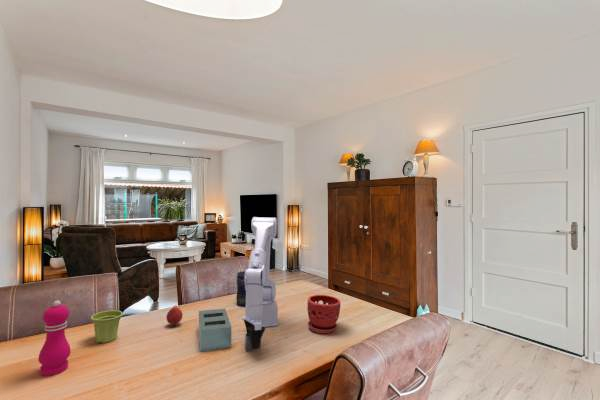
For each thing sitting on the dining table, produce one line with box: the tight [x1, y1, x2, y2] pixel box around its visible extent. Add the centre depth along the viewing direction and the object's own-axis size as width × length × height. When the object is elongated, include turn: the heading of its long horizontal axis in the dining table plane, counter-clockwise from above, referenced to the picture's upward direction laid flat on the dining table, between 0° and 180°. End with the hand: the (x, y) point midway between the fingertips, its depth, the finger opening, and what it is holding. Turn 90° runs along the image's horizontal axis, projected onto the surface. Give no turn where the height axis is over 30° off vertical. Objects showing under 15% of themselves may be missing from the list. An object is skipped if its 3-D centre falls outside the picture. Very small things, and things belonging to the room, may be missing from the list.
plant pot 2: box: [307, 294, 341, 334], centre depth 121 cm, size 13×13×12 cm
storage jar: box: [235, 270, 246, 308], centre depth 149 cm, size 10×10×15 cm
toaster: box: [197, 308, 232, 353], centre depth 111 cm, size 10×19×7 cm, turn 20°
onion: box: [166, 304, 183, 327], centre depth 121 cm, size 6×6×8 cm
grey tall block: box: [244, 333, 262, 352], centre depth 103 cm, size 5×2×5 cm, turn 110°
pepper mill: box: [38, 299, 72, 377], centre depth 88 cm, size 7×7×20 cm
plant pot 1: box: [90, 309, 124, 344], centre depth 107 cm, size 9×9×9 cm
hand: (253, 343), depth 103 cm, fingers open, 7 cm apart
